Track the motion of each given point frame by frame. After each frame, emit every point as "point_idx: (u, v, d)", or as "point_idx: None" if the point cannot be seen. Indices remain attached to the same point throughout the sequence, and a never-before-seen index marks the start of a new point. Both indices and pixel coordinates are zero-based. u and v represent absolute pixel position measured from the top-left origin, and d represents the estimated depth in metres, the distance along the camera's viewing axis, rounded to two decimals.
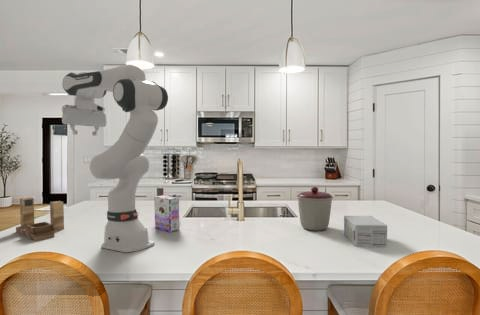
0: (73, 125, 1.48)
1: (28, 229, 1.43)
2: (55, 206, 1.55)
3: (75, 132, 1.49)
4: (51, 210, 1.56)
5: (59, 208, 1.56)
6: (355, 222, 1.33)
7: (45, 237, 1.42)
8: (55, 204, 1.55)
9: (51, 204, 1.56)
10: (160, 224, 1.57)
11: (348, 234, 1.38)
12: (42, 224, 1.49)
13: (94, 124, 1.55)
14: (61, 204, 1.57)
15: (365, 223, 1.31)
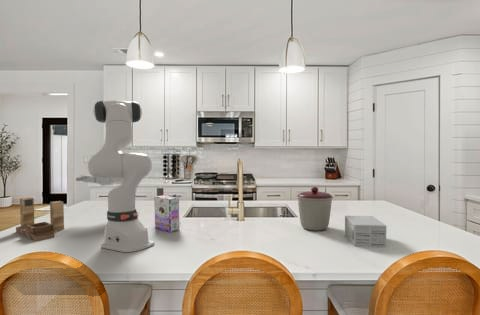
0: (83, 176, 1.73)
1: (28, 229, 1.43)
2: (55, 206, 1.55)
3: None
4: (51, 210, 1.56)
5: (59, 208, 1.56)
6: (354, 222, 1.33)
7: (45, 237, 1.42)
8: (55, 204, 1.55)
9: (51, 204, 1.56)
10: (160, 224, 1.57)
11: (348, 234, 1.39)
12: (42, 224, 1.49)
13: None
14: (61, 204, 1.57)
15: (364, 223, 1.31)
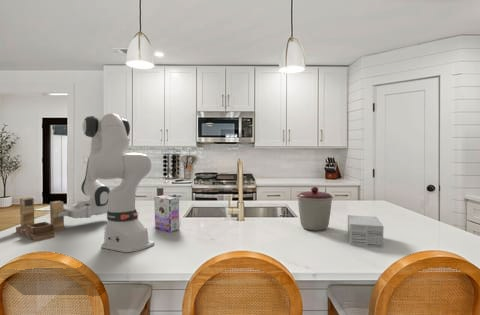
0: None
1: (28, 229, 1.43)
2: (55, 206, 1.55)
3: None
4: (51, 210, 1.56)
5: (59, 208, 1.56)
6: (352, 221, 1.34)
7: (45, 237, 1.42)
8: (55, 204, 1.55)
9: (51, 204, 1.56)
10: (160, 224, 1.57)
11: (348, 234, 1.40)
12: (42, 224, 1.49)
13: (69, 209, 1.59)
14: (61, 204, 1.57)
15: (361, 223, 1.32)
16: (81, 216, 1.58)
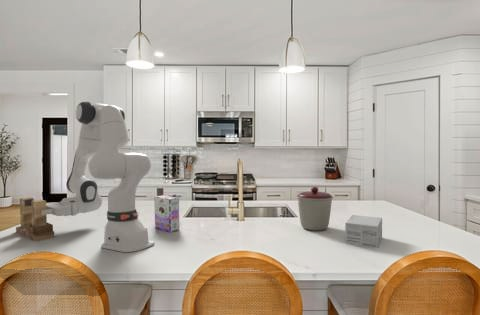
0: None
1: (28, 229, 1.43)
2: (37, 205, 1.42)
3: None
4: (32, 210, 1.43)
5: (41, 208, 1.44)
6: (350, 220, 1.36)
7: (45, 237, 1.42)
8: (37, 203, 1.42)
9: (32, 203, 1.43)
10: (160, 224, 1.57)
11: None
12: None
13: (52, 206, 1.46)
14: (43, 203, 1.44)
15: (358, 222, 1.33)
16: (65, 214, 1.45)
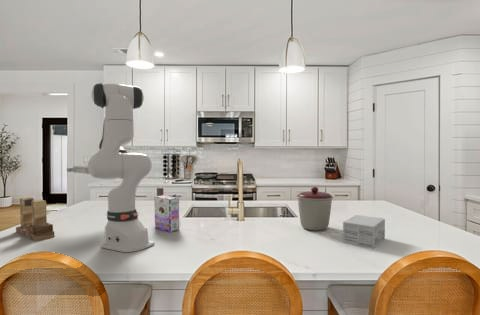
0: (74, 167, 1.62)
1: (28, 229, 1.43)
2: (37, 205, 1.42)
3: (69, 168, 1.59)
4: (32, 210, 1.43)
5: (41, 208, 1.44)
6: (349, 220, 1.37)
7: (45, 237, 1.42)
8: (37, 203, 1.42)
9: (32, 203, 1.43)
10: (160, 224, 1.57)
11: None
12: None
13: (86, 166, 1.57)
14: (43, 203, 1.44)
15: (356, 222, 1.33)
16: None
